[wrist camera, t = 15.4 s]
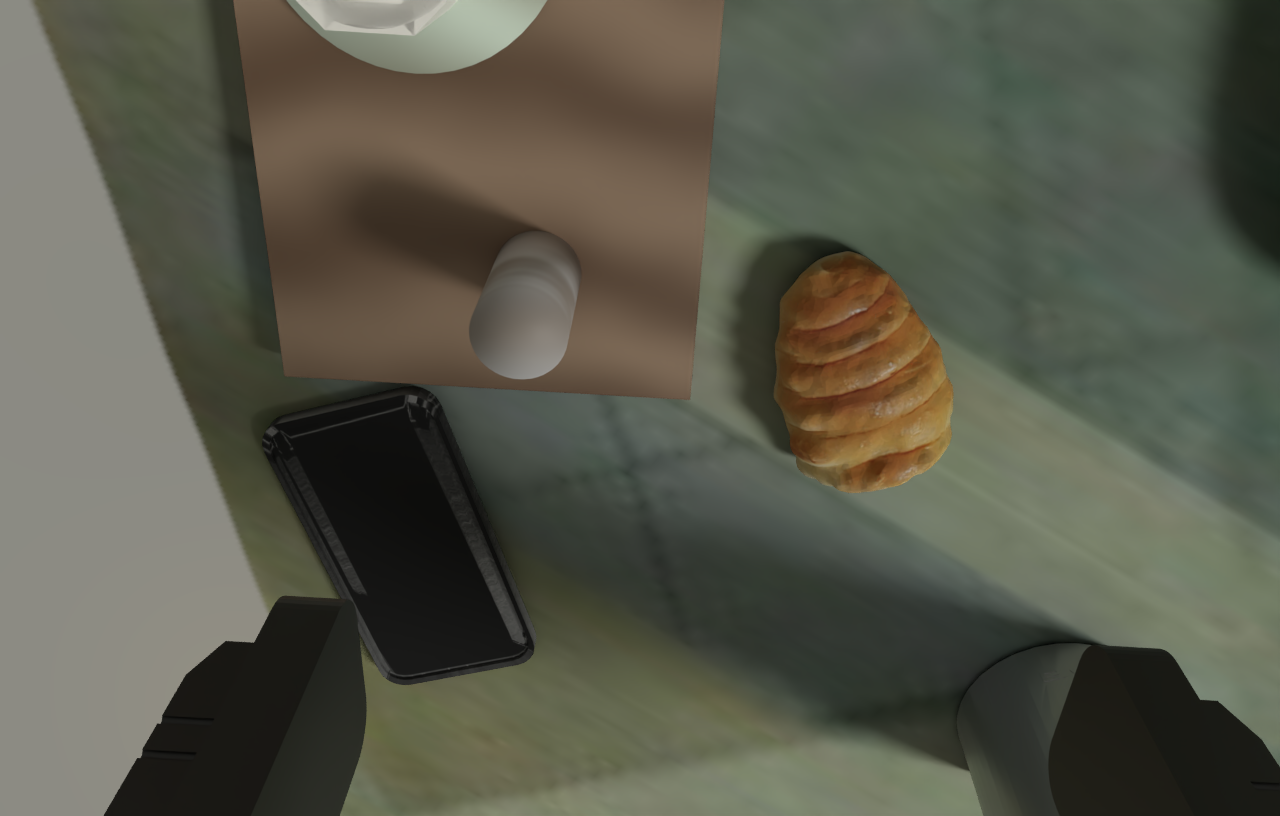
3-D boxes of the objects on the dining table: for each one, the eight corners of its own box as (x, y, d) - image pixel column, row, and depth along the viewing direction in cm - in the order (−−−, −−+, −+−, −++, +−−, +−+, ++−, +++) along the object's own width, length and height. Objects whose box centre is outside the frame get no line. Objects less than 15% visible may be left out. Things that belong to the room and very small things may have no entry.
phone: (426, 389, 41) (540, 661, 48) (432, 376, 42) (543, 644, 49) (250, 430, 42) (386, 689, 49) (259, 416, 43) (392, 673, 50)
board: (689, 382, 41) (692, 476, 35) (296, 359, 41) (231, 449, 35) (747, -305, 30) (767, -343, 24) (207, -337, 30) (87, -383, 24)
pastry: (735, 276, 39) (742, 316, 36) (908, 220, 38) (932, 256, 35) (800, 470, 43) (811, 522, 40) (957, 425, 42) (982, 475, 39)
